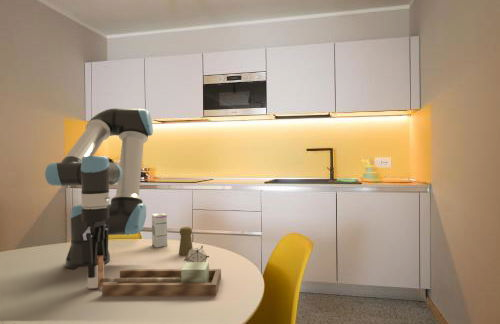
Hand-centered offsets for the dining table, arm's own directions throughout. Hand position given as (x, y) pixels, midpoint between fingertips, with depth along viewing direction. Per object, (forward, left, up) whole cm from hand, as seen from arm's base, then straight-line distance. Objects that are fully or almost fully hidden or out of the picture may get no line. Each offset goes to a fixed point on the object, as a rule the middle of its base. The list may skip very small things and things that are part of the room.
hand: (96, 284), depth 95 cm
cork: (+19, +38, -2) cm, 43 cm away
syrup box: (+4, +51, -2) cm, 51 cm away
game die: (+27, +18, -2) cm, 33 cm away
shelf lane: (+21, 0, -2) cm, 21 cm away
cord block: (+16, 0, -1) cm, 16 cm away
